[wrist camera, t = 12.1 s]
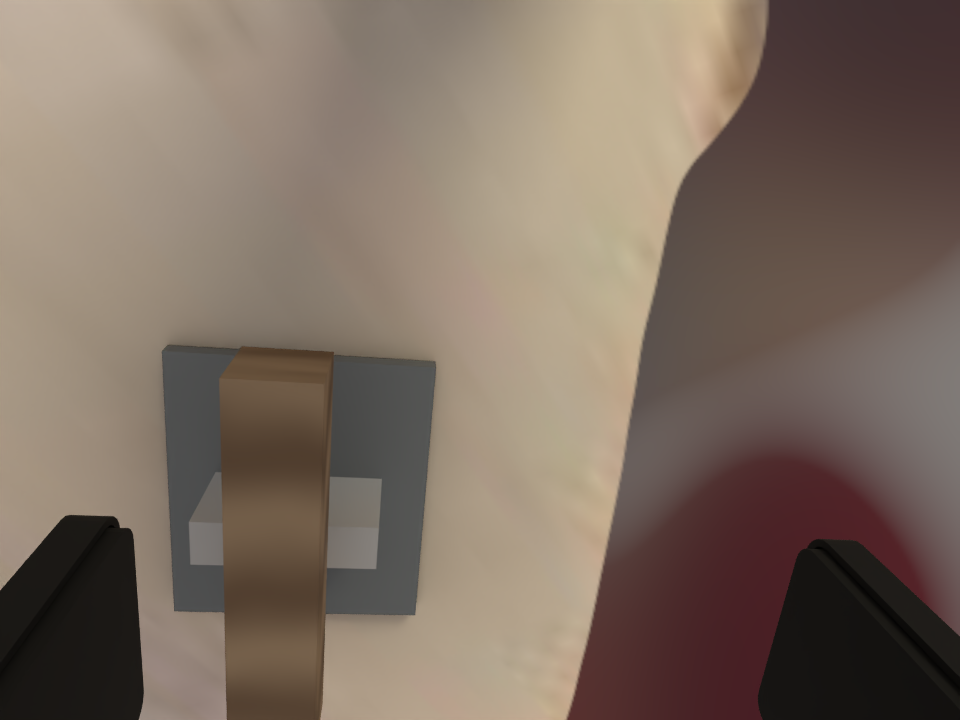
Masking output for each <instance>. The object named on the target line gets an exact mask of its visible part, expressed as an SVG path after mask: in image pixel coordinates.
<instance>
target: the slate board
mask: <svg viewBox="0 0 960 720" xmlns="http://www.w3.org/2000/svg"><path fill="white" fill-rule="evenodd" d="M239 350H240V349H224V348H208V347H192V346H176V345H168V346H167V347H166V348H165V349H164V350H163V351H162V361H163V382H164V403H165V425H166V446H167V467H168V488H169V509H170V530H171V551H172V572H173V594H174V611H188V612H224V568H223V523H222V479H221V434H220V390H219V378H220V377H221V375H222V374H223V372H224V371H225V370H226V368H227V367H228V365H229V364H230V363H231V361H232V360H233V358H234V357H235V356H236V354H237V353H238V351H239ZM435 373H436V364H435V361H419V360H403V359H386V358H370V357H354V356H338V355H334V366H333V397H332V427H331V458H330V489H329V519H328V550H327V580H326V611H325V614H374V615H415V611H416V599H417V587H418V575H419V563H420V551H421V540H422V528H423V516H424V504H425V492H426V480H427V468H428V456H429V445H430V433H431V421H432V409H433V397H434V385H435Z"/></svg>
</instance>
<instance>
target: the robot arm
mask: <svg viewBox="0 0 960 720" xmlns="http://www.w3.org/2000/svg"><path fill="white" fill-rule="evenodd" d="M143 696H144V687H143V672H142V657H141V642H140V627H139V612H138V597H137V583H136V568H135V553H134V539H133V533H132V531H131V529H129V528H120V526H119V522H118V520H117V519H116V518H115V517H114V516H84V515H68V516H65V517H64V518H63V519H61V520H60V522H59V523H58V524H57V525H56V526H55V527H54V529H53V530H52V531H51V532H50V533H49V534H48V536H47V537H46V538H45V539H44V540H43V541H42V543H41V544H40V545H39V546H38V547H37V548H36V550H35V551H34V552H33V553H32V554H31V555H30V557H29V558H28V559H27V560H26V561H25V562H24V564H23V565H22V566H21V567H20V568H19V569H18V571H17V572H16V573H15V574H14V575H13V576H12V578H11V579H10V580H9V581H8V582H7V583H6V585H5V586H4V587H3V588H2V589H1V590H0V720H138V719H139V717H140V713H141V709H142V704H143ZM758 704H759V710H760V713H761V717H762V719H763V720H960V636H959V635H958V634H956V633H955V632H954V631H953V630H952V629H951V628H950V627H949V626H948V625H947V624H946V623H945V622H944V621H943V620H941V618H939V617H938V616H937V615H936V614H935V613H934V612H933V611H932V610H931V609H930V608H929V607H928V606H927V605H926V604H925V603H923V602H922V601H921V600H920V599H919V598H918V597H917V596H916V595H915V594H914V593H913V592H912V591H911V590H910V589H909V588H908V587H906V586H905V585H904V584H903V583H902V582H901V581H900V580H899V579H898V578H897V577H896V576H895V575H894V574H893V573H892V572H890V571H889V570H888V569H887V568H886V567H885V566H884V565H883V564H882V563H881V562H880V561H879V560H878V559H876V558H875V557H874V555H872V554H871V553H870V552H869V551H868V550H867V549H866V548H865V547H864V546H863V545H861V544H860V543H858V542H857V541H853V540H830V539H816V540H814V541H812V542H811V543H810V544H809V546H808V548H807V549H803V550H801V551H800V553H799V554H798V556H797V559H796V562H795V566H794V569H793V573H792V576H791V580H790V583H789V587H788V590H787V594H786V598H785V601H784V605H783V608H782V612H781V615H780V619H779V622H778V626H777V629H776V633H775V636H774V640H773V644H772V647H771V650H770V654H769V657H768V661H767V664H766V668H765V672H764V675H763V678H762V682H761V686H760V689H759V694H758Z"/></svg>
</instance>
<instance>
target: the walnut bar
mask: <svg viewBox="0 0 960 720" xmlns="http://www.w3.org/2000/svg"><path fill="white" fill-rule="evenodd" d="M333 366H334V352H324V351H308V350H291V349H274V348H258V347H241V349H240V350H239V351H238V353H237V354H236V356H235V357H234V358H233V360H232V361H231V363H230V364H229V365H228V367H227V368H226V370H225V371H224V372H223V374H222V375H221V377H220V378H219V390H220V434H221V479H222V523H223V568H224V612H225V657H226V701H227V720H320V717H321V710H322V703H323V672H324V642H325V611H326V580H327V550H328V519H329V489H330V458H331V427H332V397H333Z"/></svg>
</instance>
